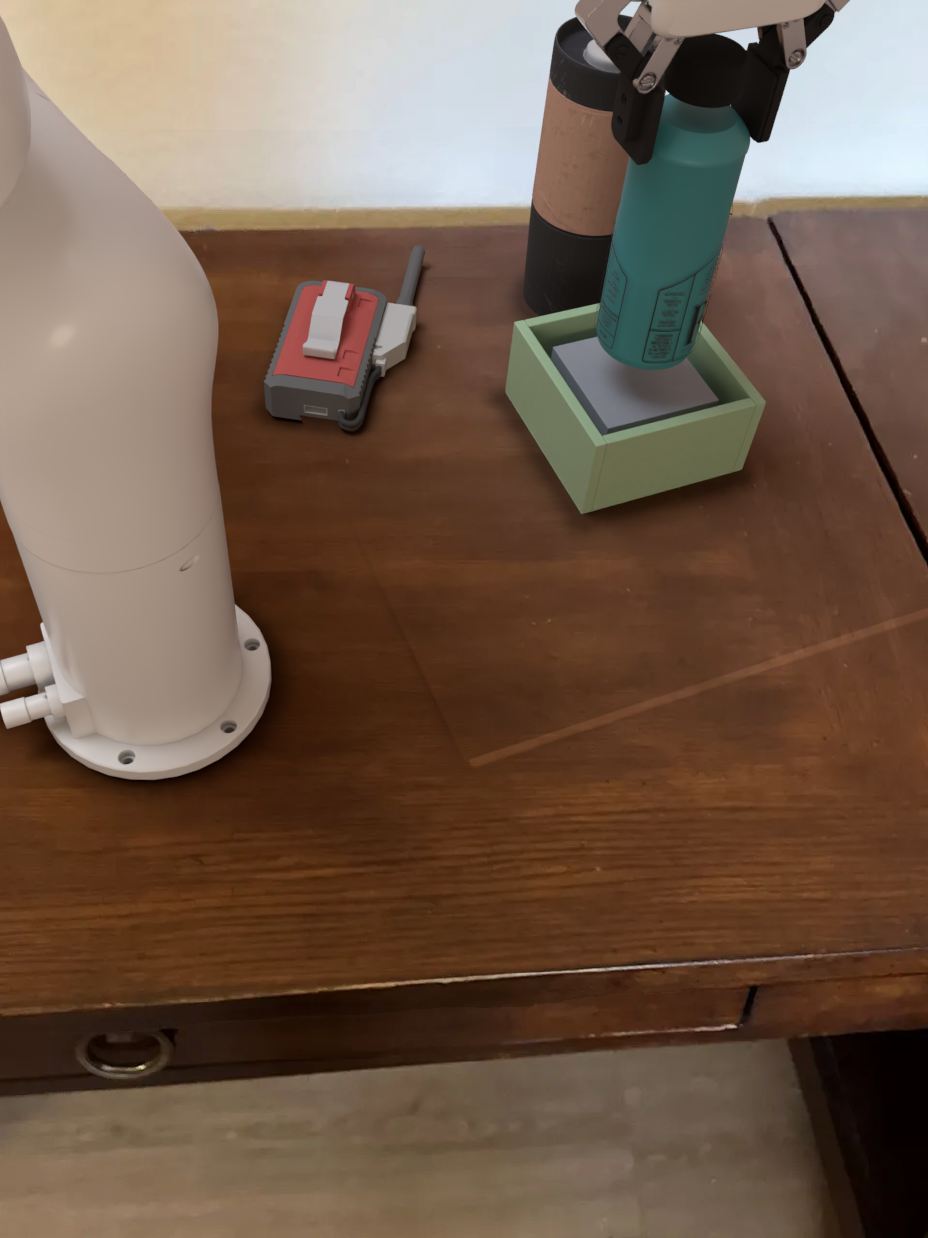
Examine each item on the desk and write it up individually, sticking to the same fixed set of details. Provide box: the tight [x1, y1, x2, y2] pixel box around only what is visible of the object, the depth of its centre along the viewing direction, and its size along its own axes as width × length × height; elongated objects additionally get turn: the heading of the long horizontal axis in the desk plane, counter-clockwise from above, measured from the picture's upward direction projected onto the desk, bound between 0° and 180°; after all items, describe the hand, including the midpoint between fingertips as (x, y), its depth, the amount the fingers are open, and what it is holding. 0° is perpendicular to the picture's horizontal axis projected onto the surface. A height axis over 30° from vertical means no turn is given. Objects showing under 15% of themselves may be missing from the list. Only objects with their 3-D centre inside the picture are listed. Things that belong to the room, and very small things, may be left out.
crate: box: [504, 303, 767, 515], centre depth 80 cm, size 12×12×7 cm
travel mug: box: [522, 13, 667, 317], centre depth 83 cm, size 8×8×20 cm
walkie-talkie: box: [263, 245, 426, 432], centre depth 85 cm, size 9×4×20 cm
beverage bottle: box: [594, 33, 751, 370], centre depth 69 cm, size 6×7×20 cm
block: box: [551, 337, 719, 436], centre depth 80 cm, size 8×8×5 cm
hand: (690, 136), depth 65 cm, fingers closed on beverage bottle, 6 cm apart
